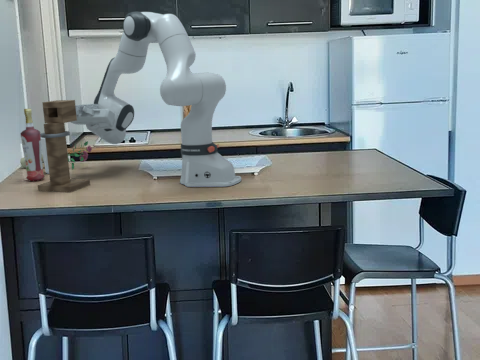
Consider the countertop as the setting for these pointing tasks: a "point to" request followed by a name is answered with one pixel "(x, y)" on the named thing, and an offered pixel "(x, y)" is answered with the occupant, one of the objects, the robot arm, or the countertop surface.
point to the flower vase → (82, 156)
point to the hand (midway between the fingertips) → (77, 108)
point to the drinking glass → (44, 154)
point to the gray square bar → (91, 106)
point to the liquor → (32, 149)
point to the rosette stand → (59, 146)
